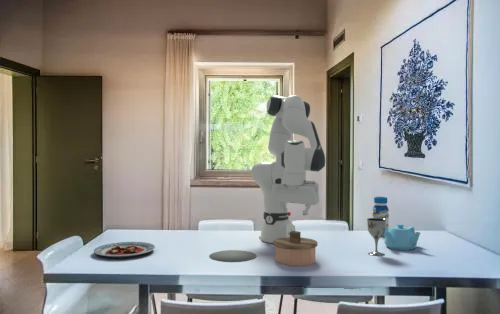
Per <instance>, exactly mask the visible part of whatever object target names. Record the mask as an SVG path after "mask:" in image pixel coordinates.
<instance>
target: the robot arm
mask: <svg viewBox="0 0 500 314" xmlns="http://www.w3.org/2000/svg"><path fill="white" fill-rule="evenodd" d="M266 112H267V114H268V115H269V116H271V117H275V118H274V120H273V122H272V125H271V129H270V131H269V132H270V133H269V139H268V140H269V141H268V146H267V148H268V149H267V150H268V152H269V153H270V154H271V155H273V156H274V157H276V161H261V162H256V163H254V164H253V166H252V168H251V169H250V171H251V172H250V175H251V178H252V180H253V181H254V182H255V183H256V184H257V185H258V186H259V188H260V190H261V191H262V194H263V201H264V204H263V205H264V206H263V207H264V211H263V221H262V222H261V231H260V235H259V236H258V238H259V239H260V240H261V241H262V242H265V243H269V244H270V243H272V244H273V240H275V239H278V238H286V237H290V232H292V231H296V226H295V225H294V223H293V222H292V221H291V220H289V218H290V216H292V212H291V211H288V208H287V207H288V206H287V205H288V204H287V203H289V204H297V205H298V204H300V205H304V207H305V210H302V216H308V215H309V210H310V208H311V207H312V206H315V205H317V204H319V202H320V194H319V184H318V183H317V182H316V181H315V180H306V179H307V174H306V173H307V172H308V171H309V172H320V171H321V170H322V169H324V167H325V165H326V161H327V160H326V159H327V158H326V154H325V152H324V149H323V147H322V145H321V144H322V143H321V141H320V139H319V138H320V136H319V134H318V132H317V128H316V126H315V124H314V122H313V121H312V120H310V119H309V117H310V114H311V105H310V103H308V102H307V101H304V100H303V98H302V97H301V96H299V95H295V94H292V95H289V96H280V95H278V94H277V95H276V94H275V95H271V96H270V97H269V99H268V100H267V102H266ZM293 134H294V135H299V136H301V137H304V138H306V139H308V141H309V145H310V147H305V142H304V141H303V140H299V139H292V137H293V136H292V135H293ZM306 171H307V172H306Z"/></svg>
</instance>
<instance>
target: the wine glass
mask: <svg viewBox="0 0 500 314" xmlns="http://www.w3.org/2000/svg"><path fill="white" fill-rule="evenodd" d="M366 225H367V226H366V227H367V231H368V233H369V235H370V236H371V237H372V239H373V240H374V245H375V246H374V247H375V249H374V251H370V252H367V254H368V255H369V256H372V257H384V256H385V255H386V254H385V253H384V252H380V251H378V243H379V240H380V239H381V237H383V236H382V235H383V234H384V233H385V229H386V219H382V218H373V217H368V218H367V219H366Z"/></svg>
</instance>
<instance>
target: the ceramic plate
mask: <svg viewBox="0 0 500 314" xmlns="http://www.w3.org/2000/svg"><path fill="white" fill-rule="evenodd" d="M155 249H156V245H155V244H154V243H150V242H145V241H119V242H113V243H107V244H104V245H99V246H97V247H95V248H94V249H93V253H94V254H96V255H98V256H102V257H109V258H115V257H117V258H120V259H122V258H131V257H133V258H134V257H137V256H140V255H143V254H147V253H150V252H152V251H154V250H155Z"/></svg>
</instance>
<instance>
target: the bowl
mask: <svg viewBox="0 0 500 314" xmlns="http://www.w3.org/2000/svg"><path fill="white" fill-rule="evenodd" d="M274 248H275V250H274V251H275V252H274V253H275V257H274V258H275V259H274V260H275V261H276V262H278V263H280V264H284V265H286V266H298V267H299V266H301V267H302V266H309V265H313V264H315V263H316V247H314V248H310V249H284V248H279V247H276V246H274Z"/></svg>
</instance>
